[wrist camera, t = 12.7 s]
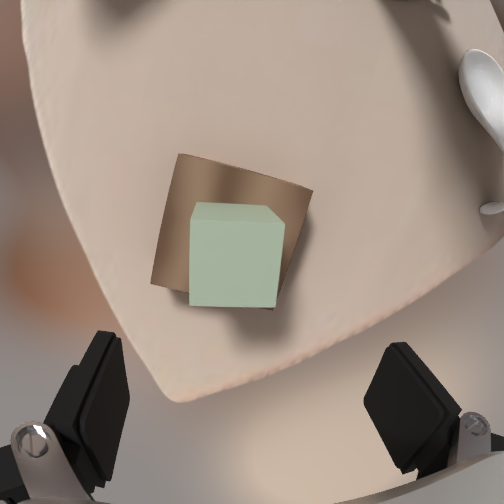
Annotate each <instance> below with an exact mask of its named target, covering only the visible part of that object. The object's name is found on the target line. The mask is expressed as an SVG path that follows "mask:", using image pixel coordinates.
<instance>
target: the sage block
mask: <svg viewBox="0 0 504 504" xmlns="http://www.w3.org/2000/svg"><path fill="white" fill-rule="evenodd" d="M284 230H285V223H284V222H283V221H282V220H281V219H280V218H279V217H278V216H277V215H276V214H275V213H274V212H273V211H272V210H271V209H270V208H269V207H268V206H263V205H247V204H229V203H207V202H197V203H196V205H195V208H194V211H193V213H192V216H191V219H190V252H189V306H215V307H275V306H276V298H277V290H278V282H279V274H280V265H281V257H282V248H283V239H284Z"/></svg>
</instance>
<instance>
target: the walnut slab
mask: <svg viewBox="0 0 504 504" xmlns="http://www.w3.org/2000/svg"><path fill="white" fill-rule="evenodd" d="M312 193H313V191H312V190H310V189H307V188H305V187H302V186H300V185H297V184H294V183H290V182H287V181H284V180H280V179H277V178H274V177H270V176H267V175H263V174H260V173H256V172H253V171H249V170H246V169H242V168H238V167H235V166H231V165H227V164H223V163H220V162H216V161H212V160H208V159H204V158H200V157H196V156H191V155H187V154H178V157H177V161H176V165H175V169H174V173H173V176H172V181H171V185H170V189H169V193H168V197H167V202H166V206H165V210H164V215H163V220H162V224H161V229H160V234H159V239H158V244H157V249H156V254H155V260H154V265H153V271H152V277H151V283H150V284H154V285H158V286H162V287H166V288H170V289H174V290H179V291H183V292H187V293H189V252H190V219H191V216H192V213H193V211H194V208H195V205H196V203H197V202H207V203H229V204H247V205H263V206H268V207H269V208H270V209H271V210H272V211H273V212H274V213H275V214H276V215H277V216H278V217H279V218H280V219H281V220H282V221H283V222H284V223H285V230H284V239H283V248H282V257H281V265H280V274H279V282H278V290H277V298H278V295H279V292H280V289H281V286H282V283H283V281H284V278H285V275H286V272H287V269H288V266H289V263H290V260H291V257H292V254H293V251H294V248H295V245H296V242H297V239H298V236H299V233H300V230H301V227H302V224H303V221H304V218H305V215H306V212H307V209H308V206H309V203H310V199H311V196H312ZM277 298H276V301H277ZM257 308H263V309H268V310H273V309H274V307H257Z"/></svg>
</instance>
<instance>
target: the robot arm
mask: <svg viewBox="0 0 504 504" xmlns="http://www.w3.org/2000/svg"><path fill="white" fill-rule="evenodd" d="M129 401H130V395H129V389H128V383H127V377H126V371H125V364H124V357H123V350H122V342H121V338H118V337H116V334H115V333H114V332H107V331H100V330H99V331H97V333H96V335H95V336H94V338H93V340H92V342H91V344H90V345H89V347H88V349H87V352H86V353H85V355H84V357H83V359H82V360H81V362H80V364H79V366H78V365H73V366H72V367H71V369H70V370H69V372H68V374H67V376H66V378H65V380H64V382H63V384H62V386H61V388H60V389H59V392H58V393H57V395H56V398H55V399H54V401H53V404H52V406H51V408H50V410H49V412H48V414H47V416H46V418H45V420H44V423H41V422H35V421H31V422H25V423H23V424H21V425H19V426H18V427H17V428H16V429H15V430H14V431H13V433H12V435H11V440H10V441H11V444H10V445H7V446H4V447H1V448H0V504H109V503H104V502H97V501H95V499H94V498H93V496H92V495H91V493H93V492H94V489H95V486H97V487H102V488H104V487H105V482H106V481H111V479H112V474H113V469H114V464H115V460H116V455H117V451H118V447H119V442H120V438H121V434H122V430H123V426H124V421H125V418H126V414H127V410H128V406H129ZM364 406H365V408H366V410H367V412H368V414H369V416H370V417H371V419H372V421H373V423H374V425H375V427H376V429H377V431H378V433H379V435H380V436H381V438H382V440H383V442H384V444H385V446H386V448H387V450H388V452H389V454H390V456H391V458H392V460H393V462H394V464H395V466H396V467H397V468H399V469H400V470H401V472H402V474H406V473H409V472H412V471H414V470H415V469H416V468H417V469H418V475H417V478H416V481H413V482H410V483H408V484H404V485H402V486H398V487H396V488H393V489H389V490H386V491H383V492H379V493H376V494H372V495H369V496H365V497H361V498H357V499H353V500H349V501H344V502H340V503H335V504H504V437H502V436H500V435H496V434H493V433H491V429H490V424H489V423H488V421H487V420H486V419H485V417H483V416H482V415H480V414H478V413H476V412H467V413H465V414H463V415H462V416H461V418H459V416H458V415H459V413H460V412H461V410H462V409H461V408H460V406H459V405H458V404H457V403H456V402H455V401H454V399H453V398H452V396H451V395H450V394H449V393H448V392H447V390H446V389H445V388H444V387H443V385H442V384H441V383H440V382H439V381H438V379H437V378H436V377H435V376H434V374H433V373H432V372H431V371H430V370H429V368H428V367H427V366H426V365H425V364H424V362H423V361H422V360H421V359H420V358H419V357H418V355H417V354H416V353H415V352H414V351H413V350H412V348H411V347H410V346H409V345H408V344H407V343H406V342H396V343H391V344H390V346H389V347H387V348H386V350H385V352H384V354H383V356H382V359H381V361H380V364H379V366H378V368H377V370H376V373H375V375H374V377H373V379H372V382H371V384H370V386H369V388H368V390H367V392H366V395H365V396H364Z"/></svg>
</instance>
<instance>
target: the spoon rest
mask: <svg viewBox="0 0 504 504" xmlns="http://www.w3.org/2000/svg"><path fill="white" fill-rule="evenodd" d="M459 83H460V88H461V91H462V94H463V97H464V100H465V102H466V104H467V106H468V108H469V109H470V111H471V112H472V114H473V115H474V116H475V118H476V119H477V120H478V121H479V122H480V124H481V125H482V126H483V127H484V128H485V129H486V131H487V132H488V133H489V134H490V136H491V137H492V138H493V139H494V141H495V142H496V143H497V145H498V146H499V148H500V149H501V151H502V153H503V154H504V72H503V70H502V69H501V67H500V66H499V64H498V63H497V62H496V61H495V60H494V59H493V58H492V57H491V56H490V55H488V54H487V53H485V52H483V51H481V50H478V49H471V50H468V51H466V52H465V53H464V55H463V56H462V59H461V62H460V65H459ZM502 211H504V200H503V201H502V202H501V203H498V202H491V203H487V204H484V205H482V206H481V207H480V213H482V214H487V215H492V214H497V213H500V212H502Z"/></svg>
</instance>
